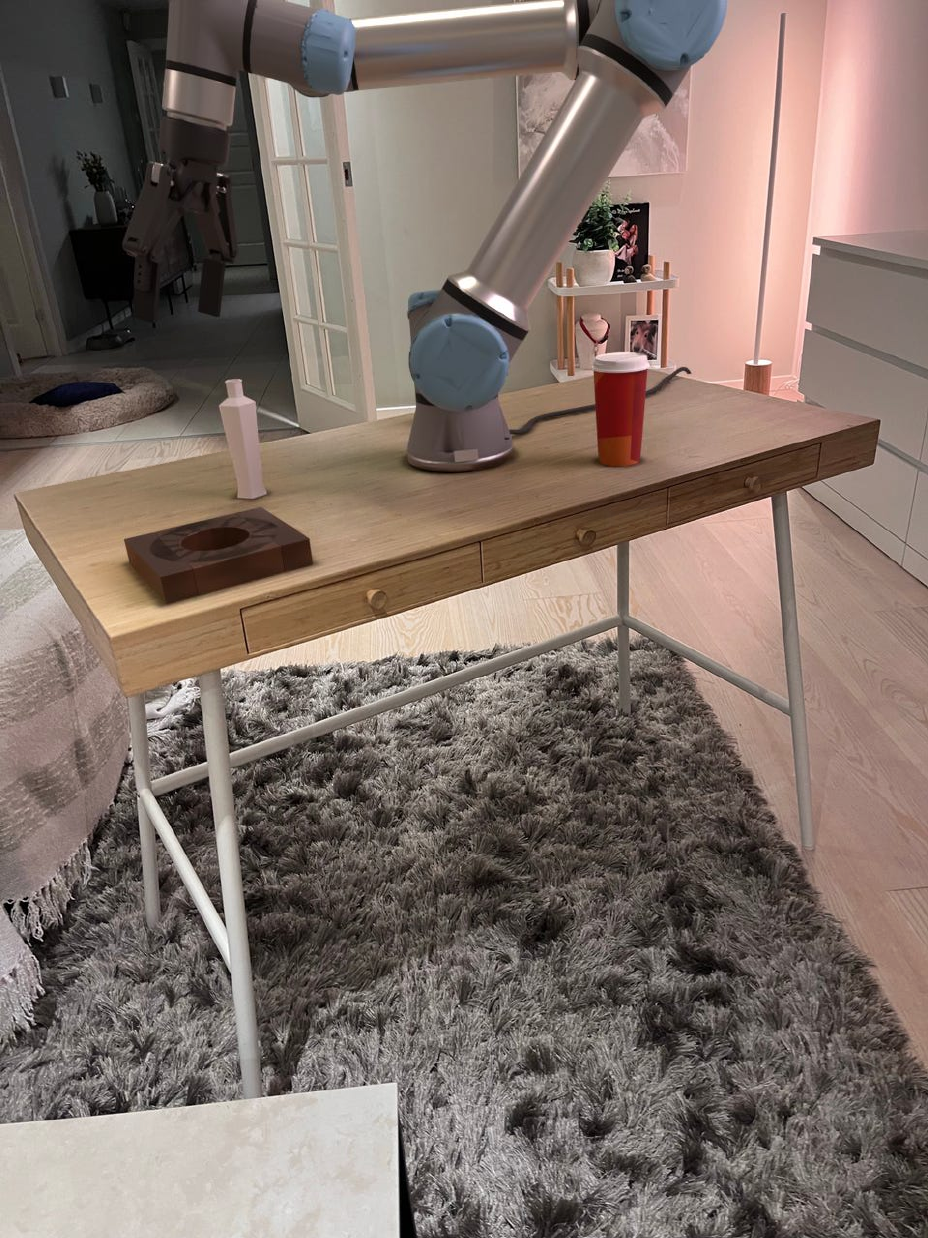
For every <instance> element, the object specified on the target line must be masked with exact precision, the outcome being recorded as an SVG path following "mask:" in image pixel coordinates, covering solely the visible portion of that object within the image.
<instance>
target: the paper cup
mask: <svg viewBox="0 0 928 1238" xmlns="http://www.w3.org/2000/svg"><path fill="white" fill-rule="evenodd" d="M650 367H651V364H650V363H649V362H648V355H646V354H643V353H638V352H635V351H634V352H631V351H618V352H617V351H616V352H607V353H601V354H598V355H596V356H595V357H594V361H593V364H591V367H590V369H591V371H593V387H594V388H593V389H594V390H593V391H594V402H595V403H594V404H595V408H596V409H595V423H596V425H595V426H596V441H597V455H598V462H599V463H600V464H602V465H605V466H609V467H627V466H633V465H636V464H638V463H640V460H641V453H642V441H643V430H644V429H643V428H644V419H645V417H644V416H645V403H646V396H645V394H646V391H647V378H648V369H649V368H650Z"/></svg>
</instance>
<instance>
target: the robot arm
mask: <svg viewBox="0 0 928 1238" xmlns="http://www.w3.org/2000/svg"><path fill="white" fill-rule="evenodd" d="M727 7H728V0H531V1H530V0H529V1H519V2H509V3H501V4H500V3H499V4H498V3H497V4H489V5H487V4H486V5H477V6H476V5H475V6H468V7H467V6H466V7H456V8H447V9H446V8H444V9H434V10H424V11H423V10H422V11H415V12H403V13H394V14H393V13H392V14H382V15H371V16H361V17H350V18H347V17H345V16H341V15H338V14H336V13H333V12H330V11H329V10H328V9H324V8H321V9H319V8H315V7H311V6H307V5H302V4H299V3H295V2H290V1H287V0H168V21H167V22H168V24H167V39H166V40H167V41H166V53H165V65H164V78H163V79H164V80H163V92H162V100H161V101H162V103H161V108H162V110H164V111H166V112H167V113H166V116H162V118H161V119H160V121H159V122H160V123H159V135H158V150H159V151H160V152H161V154H164V155H166V157H167V159H166V163H165V164H164V163H160V162H156V161H152V160H149V161H148V162H147V163H146V168H145V176H144V182H143V184H142V188H141V191H140V193H139V196H138V199H137V202H136V204H135V208H134V210H133V212H132V215H131V219H130V221H129V224H128V225H127V229H126V231H125V234H124V237H123V240H122V243H121V246H122V250H124V251H125V253H126V255H128V256H130V257H133V258H134V273H133V274H134V275H133V289H134V290H133V299H132V300H133V302H132V314H131V317H132V318H134V319H137V320H140V321H143V322H148V323H151V324H157V323H158V312H159V302H160V301H159V300H160V289H161V277H162V267H163V266H162V265H163V263H162V262H159V261H157V260H158V258H159V256H160V254H161V253H162V251H163V249H164V248H165V245H166V244H167V242H168V240H169V239H170V238H171V236H172V233H173V231H174V230H175V228H176V227H177V224H178V222H179V221H180V219H181V218H182V217H184V216H186V215H187V214H188V213H189V214H191V213H192V214H193V215H194V217H195V220H196V224H197V226H198V230H199V233H200V235H201V239H202V242H203V245H204V247H205V251H206V253H207V256H208V257H203V258H202V267H201V276H200V287H199V298H198V306H197V313H201V314H204V315H208V316H211V317H215V318H220V317H221V310H222V301H223V293H224V281H225V273H226V265H227V264H230V265H233V264H235V262H236V258H237V256H238V254H239V248H238V247H239V246H238V240H237V232H236V225H235V224H236V223H235V215H234V208H233V207H234V206H233V201H232V188H233V178H232V175H228V174H224V173H220V172H217V171H218V170H217V168H219V167H220V168H224V167H227V165H228V163H229V155H230V147H231V137H232V136H231V135H230V132H228V131H227V127H231V126H232V125H233V121H234V110H235V99H236V98H235V97H236V87H237V77H238V72H239V71H241V72H244V73H247V74H251V75H256V76H260V77H263V78H267V79H271V80H273V81H278V82H281V83H285V84H288V85H289V86H290V87H291V88H292V89H293V90H294V91H296V92H297V93H298V94H300V95H302V96H304V97H306V98H312V99H313V98H325V97H328V96H330V95H335V96H341V95H343V94H345V93H350V92H351V93H352V92H357V91H368V90H377V89H378V90H379V89H388V88H399V87H410V86H422V85H432V84H443V83H454V82H464V81H465V82H466V81H475V80H476V81H477V80H487V79H497V78H506V77H507V78H510V77H519V76H520V77H521V76H531V75H543V74H552V73H554V74H555V73H562V74H563V75H564V76H565V77H566V78H567V79H568V80H569V81H574V82H573V84H572V86H571V87H570V89H569V91H568V92H567V94H566V96H565V98H564V100H563V101H562V103H561V105H560V106H559V109H558V110H557V112H556V113H555V115H554V117H553V119H552V121H551V123H550V124H549V126H548V128H547V129H546V131H545V132H544V135H543V136H542V138H541V140H540V142H539V143H538V144H537V147H536V148H535V150H534V152H533V154H532V156H531V158H530V159H529V161H528V162H527V164H526V166H525V168H524V169H523V172H522V174H521V175H520V177H519V178H518V180H517V182H516V184H515V185H514V187H513V189H512V190H511V192H510V194H509V196H508V197H507V199H506V201H505V203H504V204H503V206H502V207H501V210H500V212H499V213H498V214H497V217H496V218H495V220H494V222H493V224H492V226H491V227H490V229H489V231H488V232H487V234H486V236H485V237H484V240H483V241H482V242H481V244H480V246H479V248H478V250H477V251H476V253H475V255H474V257H473V259H472V260H471V262H470V264H469V266H468V267H467V269H465V270H464V271H461V272H460V271H459V272H457V273H454V274H450V275H448V277H447V279H446V280H445V281H444V283H443V285H442V287H441V289H435V290H425V291H417V292H413V293H411V294H410V295H409V297H408V300H407V311H406V316H407V317H406V318H407V320H408V325H409V338H410V346H409V352H408V359H407V360H408V361H407V362H408V363H407V364H408V371H409V374H410V377H411V380H412V381H413V385H414V396H415V397H414V399H415V410H414V414H413V419H412V423H411V428H410V432H409V436H408V441H407V444H406V455H407V456H406V457H407V462H408V463H409V464H410V465H411V466H413V467H415V468H417V469H421V470H425V471H433V472H450V473H451V472H453V473H454V472H470V471H476V470H483V469H487V468H492V467H495V466H498V465H501V464H504V463H506V462H508V461H509V460H510V459H511V458H512V457H513V456H514V442H513V437H512V435H523V434H525V433H527V432H528V431H529V430H530V429H531V427H532V425H533V424H535V423H537V422H539V421H542V420H546V419H551V418H555V417H560V416H561V417H562V416H567V415H571V414H577V413H581V412H587V411H591V410H596V408H595V403H593V404H589V405H582V406H578V407H574V408H569V409H563V410H558V411H552V412H548V413H544V414H539V415H536V416H534V417H532V418H530V419H529V420H528V421H527V422H526V424H525V426H524V427H521V428H519V429H513V428H511V429H509V426H508V423H507V421H506V418H505V415H504V411H503V410H502V407H501V404H500V400H499V393H500V392H501V390H502V389H503V387H504V386H505V384H506V380H507V378H508V375H509V369H510V365H511V364H510V363H511V361H512V360H513V358H514V356H515V355H516V353H517V351H518V350H519V348H520V347H521V345H522V343H523V341H524V340H525V339H526V337H527V335H528V333H529V332H530V331H531V325H530V319H529V314H528V313H529V308H530V306H531V305H532V303H533V301H534V300H535V298H536V296H537V295H538V293H539V292H540V289H541V288H542V286H543V284H544V283H545V282H546V280H547V278H548V276H549V275H550V273H551V271H552V269H553V268H554V266H555V265H556V263H557V262H558V260H559V258H560V257H561V255H562V253H563V252H564V250H565V248H566V247H567V245H568V243H569V242H570V240H571V239H572V237H573V235H574V233H575V232H576V230H577V228H578V227H579V225H580V223H581V222H582V221H583V220H584V217H585V216H586V214H587V212H588V210H589V209H590V207H591V206H592V204H593V202H594V201H595V199H596V197H597V195H598V194H599V193H600V191H601V189H602V187H603V185H605V182H606V181H607V179H608V177H609V176H610V174H611V173H612V171H613V169H614V167H615V166H616V164H617V162H618V161H619V159H620V158H621V156H622V154H623V152H624V151H625V150H626V147H627V146H628V144H629V143H630V141H631V139H632V138H633V136H634V134H635V133H636V131H637V130H638V128H639V126H640V124H641V123H642V121H643V120H644V119H645V118H647V117H651V116H654V115H658V114H661V113H664V111H665V110H666V108H667V106H668V105H669V103H670V101H671V100H672V98H673V97H674V95H675V93H676V92H677V91H678V89H679V87H680V86H681V84H682V82H683V81H684V79H685V78H686V76H687V75H688V72H689V71H690V69H691V67H692V66H693V65H695V64H697V63H698V62H699V61H700V60H701V59H703V58H704V57H705V55H706V54H707V53H709V52H710V50H711V49H712V47H713V46H714V44H715V43H716V41H717V39H718V38H719V36H720V33H721V31H722V29H723V26H724V23H725V19H726V14H727ZM681 372H685V373H686V374H687V375H692V374H693V373H692V371H691V370H690V368H689V367H687V366H680V367H678V368H677V369H675V370H674V371H672V372H671V373H670V374H669V375H667V376H666V377H664V378H663V379H662V380H661V382H659V384H657V385H656V386H653V387H652V388H650V389H646V394H645V397H647V396H650V395H651V394H654V393H655V392H658V391H659V390H661V389H662V388H663V387H664V386H665V385H666V384H667V383H668V382H669V381H670V380H672V379H673V378H675V376H677V375H678V374H679V373H681Z"/></svg>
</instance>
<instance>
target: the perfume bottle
mask: <svg viewBox="0 0 928 1238" xmlns="http://www.w3.org/2000/svg"><path fill="white" fill-rule="evenodd" d="M242 383H243V379H240V378H234V379H227V380H226V381H224V384H225V386H226V391H227V396H228V397H227V398H226V399H224V400H223V401H222V402H221V403H220V404H219V405H218V408H219V412H220V417H221V420H222V424H223V428H224V433H225V437H226V441H227V446H228V449H229V454H230V459H231V462H232V467H233V470H234V474H235V478H236V482H237V496H236V497H237V499H247V500H255V499H257V498H260V497H262V496H265V495H267V494H268V493H267V490H266V488H265V485H264V483H263V475H262V474H263V473H262V464H261V462H262V461H261V452H260V451H261V450H260V439H259V438H260V437H259V426H258V414H257V404H256V400H253V399H251V398H249V397H248V396H245V395H244V390H243V384H242Z"/></svg>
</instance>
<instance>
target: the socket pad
mask: <svg viewBox="0 0 928 1238" xmlns="http://www.w3.org/2000/svg"><path fill="white" fill-rule="evenodd" d="M123 541H124V546H125V550H126V554H127V559H128V563H129V565H130V566H131V567H132V568H133V570H134V571H135V572H136V573H137V574H138V575H139V576H140V577H141V579H143V580H144V582H145V583H147V585H148V586H149V587H150V588H151V589H152V591H154V593H155V594H156V595H157V596H158V597H159V598H160V600H162V601H163V602H164V603H165V604H166V605H169V604H172V603H176V602H180V601H183V600H187V599H191V598H194V597H198V596H202V595H205V594H208V593H213V592H216V591H219V590H224V589H227V588H231V587H233V586H239V585H242V584H245V583H249V582H252V581H253V582H254V581H257V580H260V579H264V578H267V577H271V576H274V575H278V574H282V573H287V572H290V571H294V570H298V569H300V568H304V567H308V566H311V565H312V566H313V565H314V560H313V552H312V546H311V538H310V537H309V536H307V535H306V534H303V533H302V532H301V531H299V530H298V529H296V528H295V527H293V526H291V525H290V524H288V523H287V522H285V521H284V520H282V519H280V518H279V517H278V516H276V515H275V514H273V513H271V512H270V511H268V510H267V509H265V508H264V507H262V506H258V507H254V508H249V509H245V510H240V511H237V512H234V513H229V514H224V515H220V516H216V517H211V518H207V519H204V520H199V521H195V522H190V523H187V524H182V525H178V526H174V527H169V528H163V529H160V530H156V531H152V532H148V533H143V534H139V535H135V536H131V537H127V538H124V539H123Z"/></svg>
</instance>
